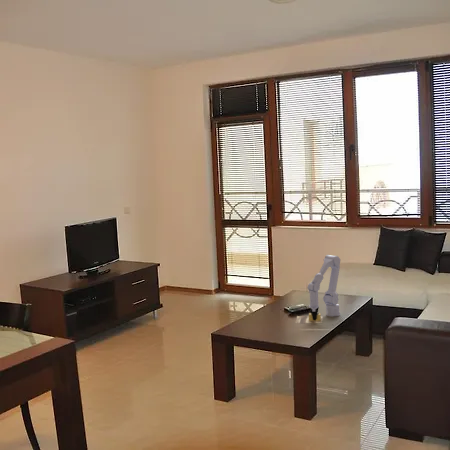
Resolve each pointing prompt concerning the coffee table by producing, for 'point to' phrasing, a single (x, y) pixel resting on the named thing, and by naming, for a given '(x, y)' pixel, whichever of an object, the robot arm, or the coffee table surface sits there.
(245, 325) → the coffee table surface
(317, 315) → the stud finder
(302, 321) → the subfloor
